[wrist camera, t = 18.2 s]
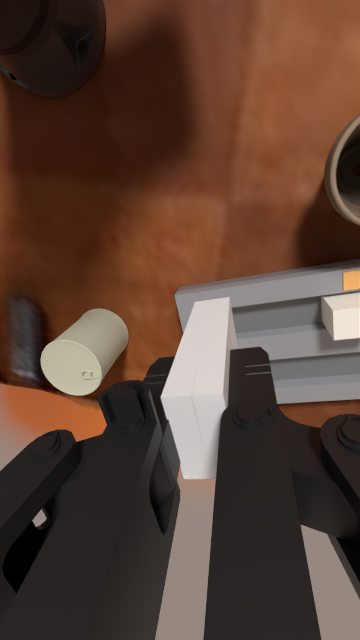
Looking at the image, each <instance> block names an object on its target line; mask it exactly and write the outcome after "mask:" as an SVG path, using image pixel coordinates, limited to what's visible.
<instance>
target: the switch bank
mask: <svg viewBox="0 0 360 640" xmlns="http://www.w3.org/2000/svg"><path fill="white" fill-rule="evenodd" d="M359 290H360V259H354V260H348V261H342V262H335V263H329V264H323V265H316V266H310V267H304V268H297V269H291V270H285V271H278V272H272V273H266V274H259V275H253V276H247V277H240V278H234V279H228V280H221V281H215V282H209V283H202V284H196V285H190V286H183V287H179V289H178V291H177V292H176V294H175V299H176V304H177V308H178V312H179V317H180V321H181V325H182V330H183V334H184V331H185V328H186V326H187V323H188V320H189V317H190V314H191V312H192V309H193V306H194V303H195V302H198V301H205V300H212V299H219V298H226V297H230V302H231V308H232V314H233V321H234V327H235V333H236V339H237V345H238V349H241V348H251V347H261V348H263V349H264V350H265V351H266V352H267V353H268V355H269V360H270V366H271V372H272V377H273V383H274V388H275V394H276V399H277V404H283V403H300V402H317V401H334V400H351V399H360V338H353V339H343V340H333V338H332V336H331V335H330V333H329V332H328V330H327V328H326V327H325V325H324V324H323V322H322V312H321V296H322V295H329V294H337V293H344V292H351V291H359Z"/></svg>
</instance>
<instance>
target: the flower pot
mask: <svg viewBox="0 0 360 640" xmlns="http://www.w3.org/2000/svg"><path fill="white" fill-rule="evenodd" d="M356 165H360V114H359V115H357V116H356V117H355V118H354V119H353V120H352V121H351V122H349V123H348V124H347V125H346V127H345V128H344V129H343V130H342V131H341V133H340V134H339V135H338V137H337V138H336V140H335V142H334V143H333V145H332V147H331V149H330V152H329V154H328V157H327V161H326V165H325V172H324V183H325V189H326V193H327V196H328V198H329V200H330V202H331V204H332V205H333V207H334V208H335V210H336V211H337V212H338V213H339V214H340V215H341V216H343V217H344V218H345V219H347V220H348V221H350V222H352V223H354V224H357V225H359V226H360V174H359V175H354V174H353V168H354V167H355V166H356Z"/></svg>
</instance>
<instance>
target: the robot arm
mask: <svg viewBox="0 0 360 640" xmlns="http://www.w3.org/2000/svg"><path fill="white" fill-rule="evenodd" d="M104 38H105V10H104V4H103V0H0V70H1V71H2V72H3V73H4V74H5V75H6V76H7V77H8V78H9V79H10V80H12V81H13V82H14V83H16V84H17V85H19V86H20V87H22V88H24V89H26V90H28V91H30V92H33V93H35V94H37V95H40V96H44V97H50V98H56V97H63V96H66V95H69V94H71V93H73V92H75V91H77V90H78V89H79V88H81V87H82V86H83V85H84V84H85V83H86V82H87V81H88V79H89V78H90V77H91V75H92V74H93V72H94V70H95V68H96V66H97V64H98V62H99V59H100V56H101V53H102V49H103V44H104ZM97 399H98V402H99V405H100V407H101V410H102V412H103V415H104V418H105V420H106V423H107V427H106V428H105V430H104V432H103V434H101V435H99V436H95V437H92V438H88V439H85V440H82V441H78V442H76V441H75V438H74V436H73V434H72V432H70V431H68V430H55V431H51V432H48V433H46V434H44V435H42V436H40V437H38V438H37V439H35V440H34V441H33V442H31V443H30V444H29V445H28V446H26V447H25V448H24V449H23V450H22V451H21V452H20V453H19V454H18V455H17V456H16V457H15V458H14V459H13V460H12V461H11V462H10V463H8V464H7V465H6V466H5V467H4V468H3V469H2V470H1V471H0V640H155V635H156V630H157V624H158V619H159V613H160V608H161V602H162V596H163V591H164V586H165V580H166V574H167V569H168V563H169V557H170V552H171V547H172V541H173V535H174V530H175V524H176V518H177V513H178V508H179V502H180V489H179V486H178V482H177V477H178V472H179V467H181V470H182V474H183V478H184V479H216V485H215V498H214V511H213V524H212V537H211V550H210V563H209V576H208V589H207V602H206V615H205V628H204V629H205V630H204V640H321V636H320V630H319V625H318V619H317V613H316V609H315V602H314V597H313V592H312V586H311V580H310V575H309V569H308V564H307V558H306V553H305V548H304V542H303V536H302V531H301V525H304V526H307V527H309V528H313V529H315V530H318V531H321V532H324V533H326V534H328V537H329V539H330V541H331V543H332V545H333V547H334V549H335V551H336V553H337V555H338V557H339V559H340V561H341V563H342V565H343V567H344V569H345V571H346V573H347V575H348V577H349V578H350V581H351V583H352V585H353V587H354V589H355V591H356V593H357V594H358V597H359V598H360V415H357V414H344V415H338V416H335V417H333V418H330V419H328V420H327V421H326V422H325V423H324V424H323V425H322V427H321V428H318V427H312V426H307V425H304V424H300V423H297V422H295V421H293V420H291V419H289V418H288V417H286V416H285V415H284V414H283V413H282V412H281V411H280V409H279V407H278V404H277V399H276V394H275V388H274V383H273V377H272V372H271V366H270V360H269V355H268V353H267V352H266V351H265V350H264V349H263V348H261V347H251V348H241V349H238V345H237V339H236V333H235V327H234V321H233V314H232V308H231V302H230V297H226V298H219V299H212V300H205V301H198V302H195V303H194V306H193V309H192V312H191V314H190V317H189V320H188V323H187V326H186V328H185V331H184V334H183V337H182V339H181V342H180V345H179V348H178V350H177V353H176V356H174V357H165V358H159V359H158V360H157V361H156V362H154V363H153V364H152V365H151V366H150V368H149V370H148V372H147V374H146V377H145V378H144V380H143V382H142V381H140V380H129V381H124V382H120V383H118V384H115V385H113V386H111V387H109V388H108V389H106V390H105V391H103V392H102V393H101V395H100V396H99V397H98V398H97ZM41 509H42V511H43V512H44V514H45V516H46V518H47V519H46V521H45V522H44V523H42V524H41V525H40V526H38V527H35V525H34V523H33V521H32V520H33V519H34V517H35V516H36V515H37V513H38V512H39V511H40V510H41ZM300 524H301V525H300Z"/></svg>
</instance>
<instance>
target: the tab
mask: <svg viewBox="0 0 360 640" xmlns="http://www.w3.org/2000/svg"><path fill="white" fill-rule="evenodd" d="M321 312H322V322H323V324H324V325H325V327H326V328H327V330H328V332H329V333H330V335H331V336H332V338H333V340H343V339H353V338H360V290H359V291H351V292H344V293H337V294H329V295H322V296H321Z"/></svg>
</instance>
